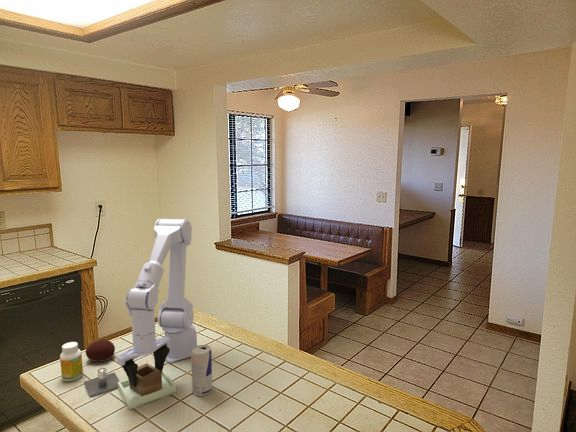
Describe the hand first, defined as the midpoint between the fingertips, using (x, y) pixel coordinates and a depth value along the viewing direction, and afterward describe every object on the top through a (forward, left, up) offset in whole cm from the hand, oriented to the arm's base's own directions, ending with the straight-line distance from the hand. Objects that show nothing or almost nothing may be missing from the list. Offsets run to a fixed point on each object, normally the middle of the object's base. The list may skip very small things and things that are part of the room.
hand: (146, 379), depth 105 cm
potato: (+6, -26, -4) cm, 27 cm away
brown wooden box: (0, 0, -3) cm, 3 cm away
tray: (0, 0, -3) cm, 3 cm away
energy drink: (-12, +9, -4) cm, 15 cm away
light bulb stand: (+9, -10, -3) cm, 14 cm away
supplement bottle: (+15, -20, -4) cm, 25 cm away
